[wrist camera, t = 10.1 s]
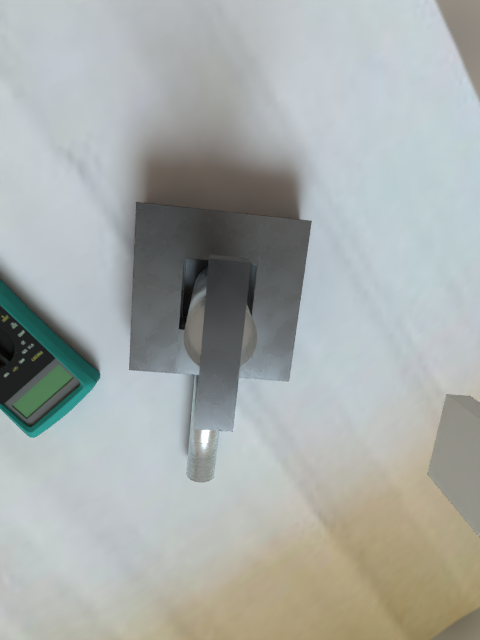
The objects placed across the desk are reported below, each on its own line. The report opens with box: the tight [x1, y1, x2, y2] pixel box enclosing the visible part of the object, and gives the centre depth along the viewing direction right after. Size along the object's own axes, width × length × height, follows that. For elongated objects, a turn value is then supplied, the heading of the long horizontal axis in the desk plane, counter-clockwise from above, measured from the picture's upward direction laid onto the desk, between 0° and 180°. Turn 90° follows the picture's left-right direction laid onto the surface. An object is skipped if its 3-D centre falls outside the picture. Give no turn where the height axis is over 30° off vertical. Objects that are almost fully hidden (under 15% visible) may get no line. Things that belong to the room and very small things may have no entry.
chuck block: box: [129, 202, 311, 482], centre depth 33 cm, size 22×12×4 cm, turn 174°
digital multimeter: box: [0, 280, 100, 438], centre depth 33 cm, size 7×15×3 cm, turn 40°
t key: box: [184, 254, 257, 432], centre depth 27 cm, size 8×4×16 cm, turn 174°
